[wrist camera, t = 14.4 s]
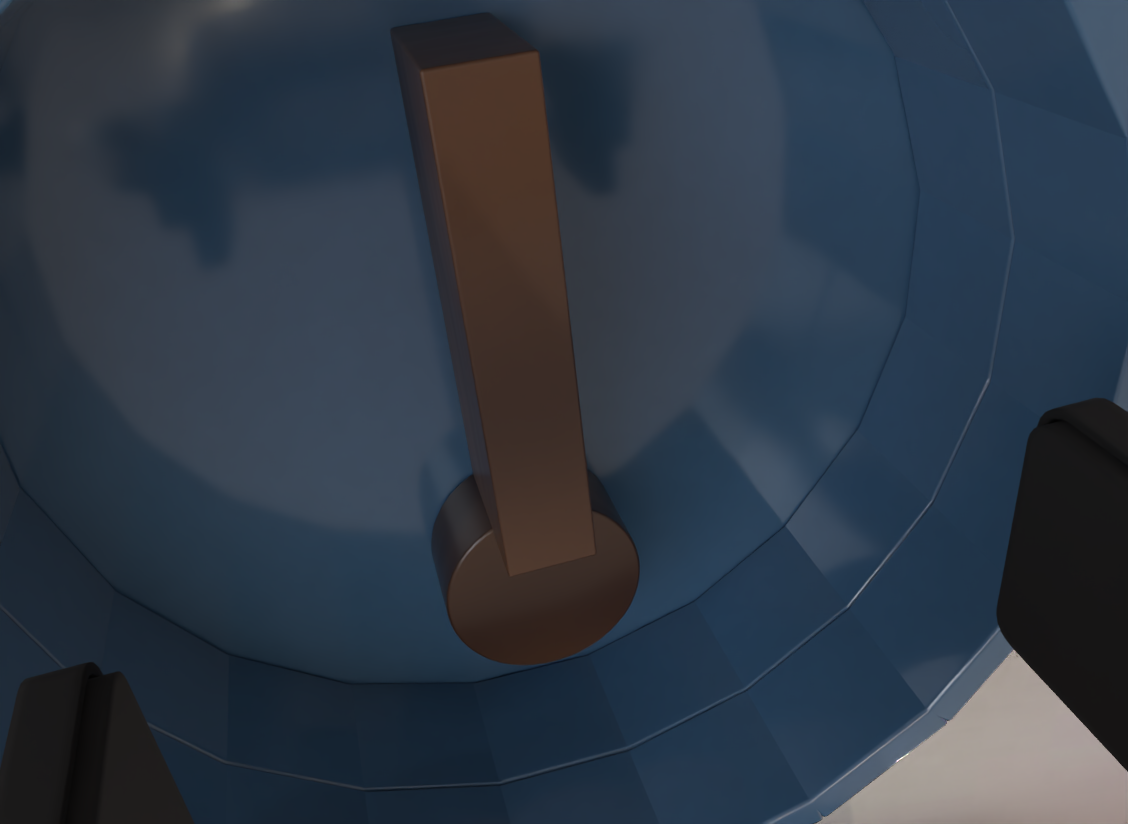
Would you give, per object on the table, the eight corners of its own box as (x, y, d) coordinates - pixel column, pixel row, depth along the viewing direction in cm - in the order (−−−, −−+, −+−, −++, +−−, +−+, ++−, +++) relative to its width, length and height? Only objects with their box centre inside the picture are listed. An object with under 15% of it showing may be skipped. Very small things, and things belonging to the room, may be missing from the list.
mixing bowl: (-118, -497, 11) (-413, -758, 6) (1084, -97, 17) (1432, -63, 12) (-64, 692, 19) (-178, 1011, 14) (758, 683, 25) (889, 902, 20)
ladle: (316, 39, 14) (330, 85, 12) (558, 0, 15) (622, 35, 13) (447, 624, 20) (476, 736, 18) (618, 578, 21) (668, 681, 18)
